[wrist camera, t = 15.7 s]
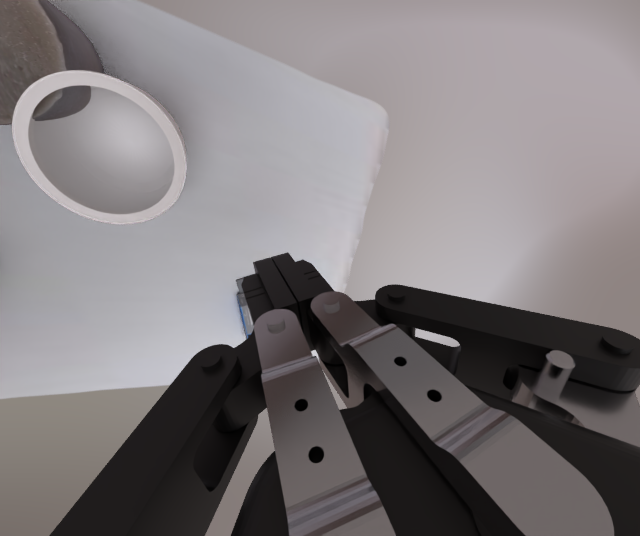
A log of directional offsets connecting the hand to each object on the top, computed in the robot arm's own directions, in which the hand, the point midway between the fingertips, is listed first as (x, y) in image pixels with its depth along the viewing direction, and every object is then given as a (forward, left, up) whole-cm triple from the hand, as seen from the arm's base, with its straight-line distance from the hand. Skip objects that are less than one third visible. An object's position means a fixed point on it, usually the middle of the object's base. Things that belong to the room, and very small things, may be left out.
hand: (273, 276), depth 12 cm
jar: (-7, +4, -31) cm, 32 cm away
